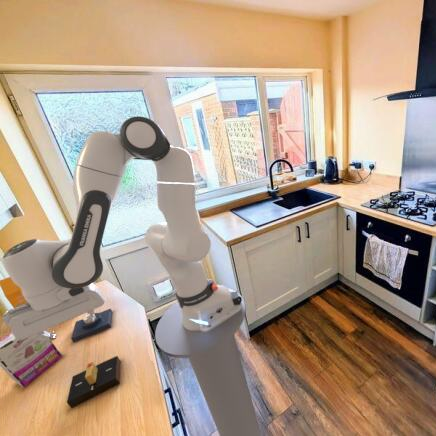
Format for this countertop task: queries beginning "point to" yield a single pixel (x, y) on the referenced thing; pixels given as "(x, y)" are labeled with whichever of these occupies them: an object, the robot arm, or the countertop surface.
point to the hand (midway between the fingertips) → (73, 330)
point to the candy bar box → (27, 357)
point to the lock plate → (104, 381)
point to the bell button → (87, 316)
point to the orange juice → (12, 292)
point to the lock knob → (91, 373)
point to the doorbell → (92, 326)
